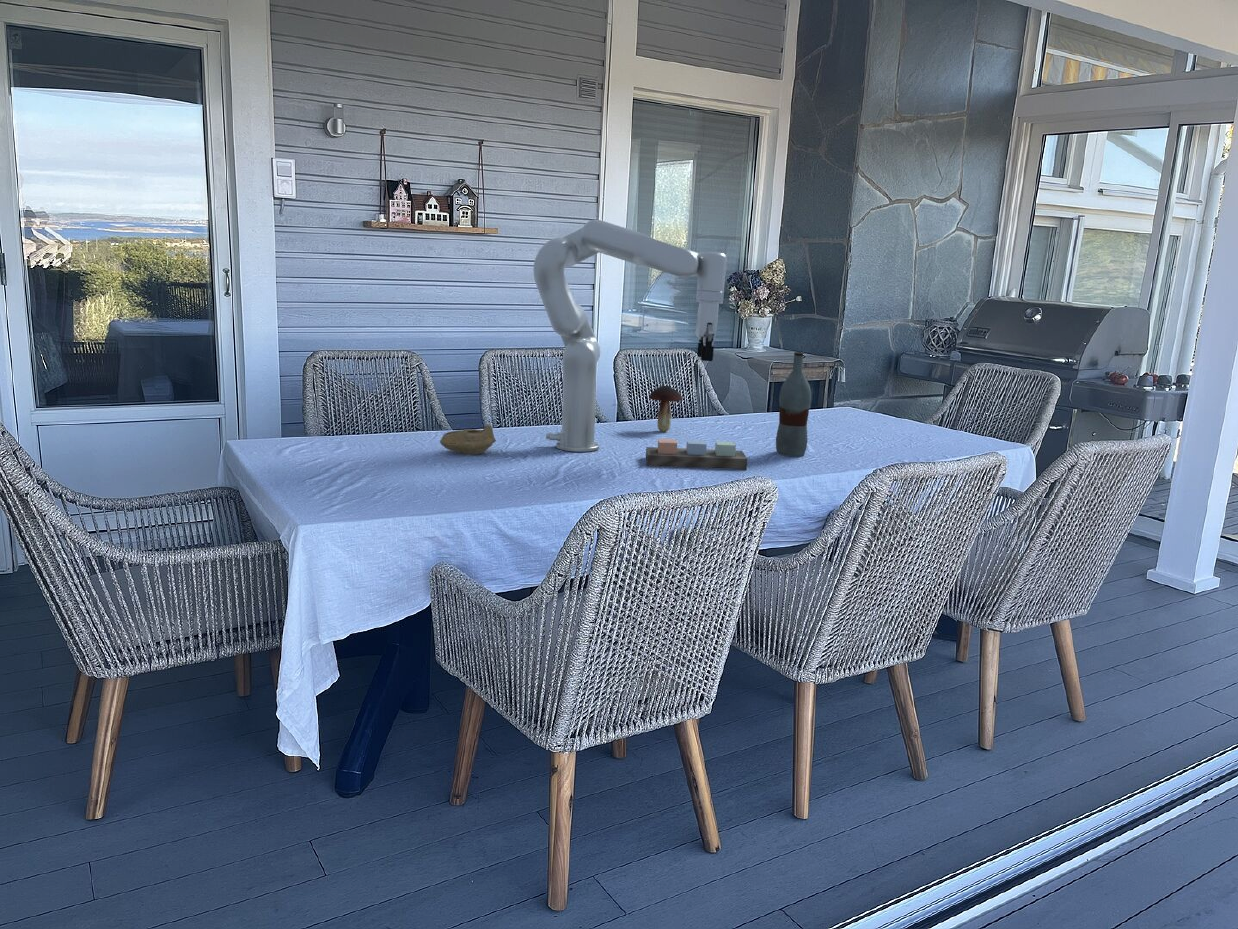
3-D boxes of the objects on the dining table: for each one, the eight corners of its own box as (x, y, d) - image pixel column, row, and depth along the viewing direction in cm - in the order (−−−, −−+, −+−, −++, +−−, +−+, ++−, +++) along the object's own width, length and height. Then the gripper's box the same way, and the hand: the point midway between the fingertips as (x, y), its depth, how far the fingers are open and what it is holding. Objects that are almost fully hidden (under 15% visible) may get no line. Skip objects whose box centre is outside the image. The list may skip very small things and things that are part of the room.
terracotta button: (658, 458, 264) (659, 442, 263) (657, 454, 269) (658, 438, 268) (676, 459, 264) (677, 443, 263) (675, 455, 269) (676, 439, 268)
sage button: (716, 460, 264) (717, 444, 264) (714, 457, 269) (715, 441, 268) (734, 461, 265) (735, 445, 264) (732, 457, 269) (733, 441, 268)
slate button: (687, 459, 264) (688, 443, 263) (685, 455, 269) (686, 440, 268) (705, 460, 264) (706, 444, 263) (703, 456, 269) (704, 440, 268)
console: (647, 465, 261) (647, 455, 261) (645, 457, 272) (646, 446, 272) (746, 469, 262) (747, 458, 261) (741, 461, 273) (742, 450, 272)
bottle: (768, 452, 286) (776, 351, 280) (785, 449, 293) (793, 350, 286) (795, 458, 280) (804, 354, 273) (812, 454, 287) (821, 353, 280)
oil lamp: (434, 451, 268) (434, 423, 266) (484, 447, 276) (484, 420, 275) (450, 459, 259) (450, 430, 257) (501, 455, 267) (501, 426, 266)
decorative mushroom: (648, 427, 319) (651, 382, 316) (682, 429, 317) (684, 384, 314) (645, 433, 308) (647, 386, 305) (679, 435, 307) (682, 388, 304)
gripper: (693, 295, 277) (688, 354, 281) (699, 298, 260) (694, 361, 264) (719, 296, 278) (714, 356, 281) (727, 299, 261) (722, 363, 264)
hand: (704, 358), depth 273 cm, fingers open, 9 cm apart
